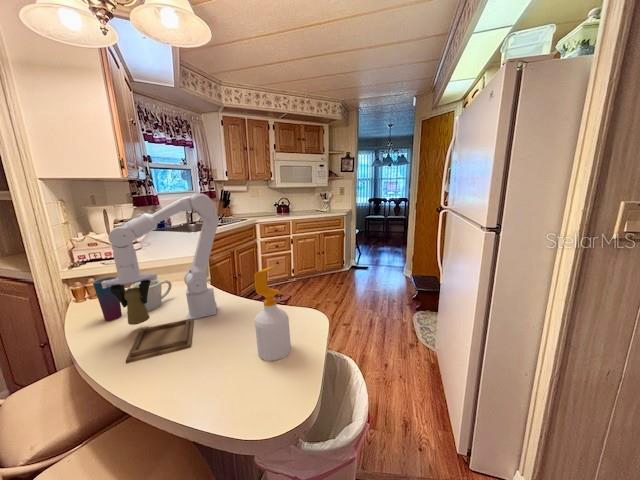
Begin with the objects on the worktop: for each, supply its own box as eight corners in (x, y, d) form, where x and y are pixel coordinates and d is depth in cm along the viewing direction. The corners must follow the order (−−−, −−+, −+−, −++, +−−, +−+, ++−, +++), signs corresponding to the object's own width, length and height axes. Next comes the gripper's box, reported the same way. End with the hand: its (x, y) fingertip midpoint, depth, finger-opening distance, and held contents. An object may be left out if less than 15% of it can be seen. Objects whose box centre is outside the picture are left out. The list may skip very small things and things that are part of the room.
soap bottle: (276, 365, 68) (267, 275, 63) (251, 355, 73) (241, 270, 67) (297, 347, 75) (291, 264, 70) (273, 338, 80) (265, 260, 75)
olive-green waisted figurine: (153, 316, 89) (147, 286, 87) (135, 326, 84) (128, 294, 82) (142, 314, 92) (135, 284, 89) (123, 322, 86) (116, 291, 84)
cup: (112, 323, 94) (103, 283, 91) (97, 321, 96) (87, 282, 93) (129, 313, 101) (121, 276, 98) (114, 312, 102) (106, 276, 99)
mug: (129, 310, 104) (124, 286, 102) (166, 295, 116) (162, 274, 114) (144, 315, 99) (139, 290, 97) (181, 299, 111) (177, 277, 109)
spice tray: (193, 322, 92) (192, 316, 92) (190, 347, 78) (189, 340, 77) (140, 333, 86) (138, 328, 86) (126, 363, 72) (124, 356, 71)
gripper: (155, 258, 90) (162, 295, 93) (103, 264, 85) (113, 304, 88) (151, 263, 83) (159, 303, 86) (95, 271, 78) (105, 313, 81)
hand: (135, 304), depth 87 cm, fingers closed on olive-green waisted figurine, 5 cm apart
